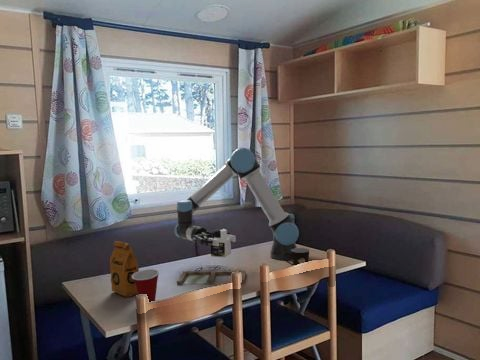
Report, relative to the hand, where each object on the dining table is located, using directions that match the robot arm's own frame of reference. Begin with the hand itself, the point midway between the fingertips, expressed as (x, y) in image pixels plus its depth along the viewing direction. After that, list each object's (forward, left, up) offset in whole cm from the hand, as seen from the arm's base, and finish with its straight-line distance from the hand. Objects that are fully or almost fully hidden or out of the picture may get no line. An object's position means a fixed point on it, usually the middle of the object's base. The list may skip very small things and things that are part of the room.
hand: (226, 241), depth 186 cm
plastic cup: (+31, +24, -19) cm, 43 cm away
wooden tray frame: (+8, -3, -18) cm, 20 cm away
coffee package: (+43, +13, -19) cm, 48 cm away
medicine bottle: (+3, -3, -7) cm, 9 cm away
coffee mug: (-32, -13, -19) cm, 40 cm away
